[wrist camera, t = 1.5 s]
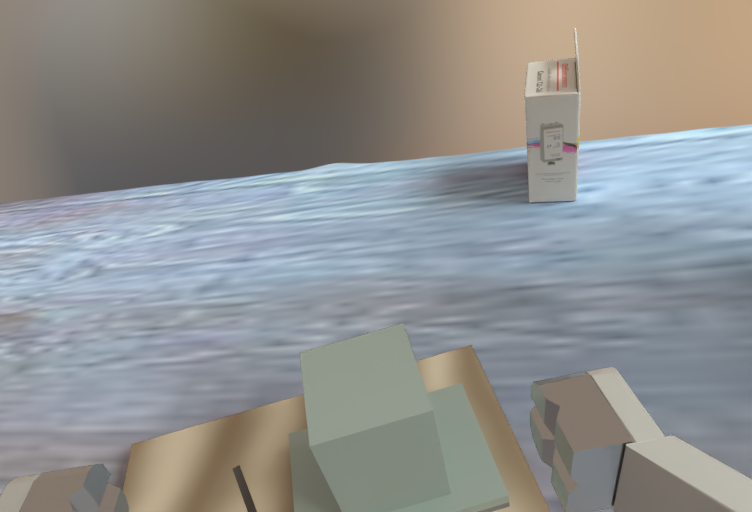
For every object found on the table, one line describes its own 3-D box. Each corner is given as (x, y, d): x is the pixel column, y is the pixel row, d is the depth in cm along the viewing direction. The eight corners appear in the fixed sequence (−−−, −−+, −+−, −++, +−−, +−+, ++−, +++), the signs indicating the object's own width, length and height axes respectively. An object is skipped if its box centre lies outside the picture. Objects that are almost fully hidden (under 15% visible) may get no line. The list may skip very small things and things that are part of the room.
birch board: (473, 358, 40) (471, 344, 39) (577, 582, 27) (578, 570, 26) (141, 455, 39) (131, 444, 38) (90, 734, 26) (73, 727, 25)
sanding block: (463, 394, 36) (448, 297, 30) (509, 506, 29) (502, 409, 24) (294, 444, 35) (247, 354, 30) (304, 568, 29) (246, 485, 23)
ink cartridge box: (528, 162, 60) (525, 30, 51) (573, 159, 59) (579, 24, 50) (526, 204, 54) (522, 63, 45) (577, 202, 53) (584, 56, 44)
